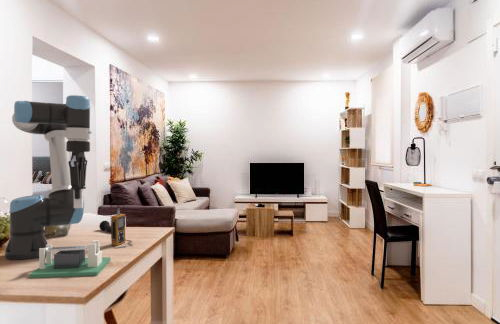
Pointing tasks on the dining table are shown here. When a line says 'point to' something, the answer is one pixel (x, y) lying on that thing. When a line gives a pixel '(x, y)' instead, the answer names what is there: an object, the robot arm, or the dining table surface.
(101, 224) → the microphone
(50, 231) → the ceramic sculpture
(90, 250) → the circuit board
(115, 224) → the multimeter
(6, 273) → the dining table surface
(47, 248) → the clamp bar
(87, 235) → the dining table surface
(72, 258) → the heat sink
